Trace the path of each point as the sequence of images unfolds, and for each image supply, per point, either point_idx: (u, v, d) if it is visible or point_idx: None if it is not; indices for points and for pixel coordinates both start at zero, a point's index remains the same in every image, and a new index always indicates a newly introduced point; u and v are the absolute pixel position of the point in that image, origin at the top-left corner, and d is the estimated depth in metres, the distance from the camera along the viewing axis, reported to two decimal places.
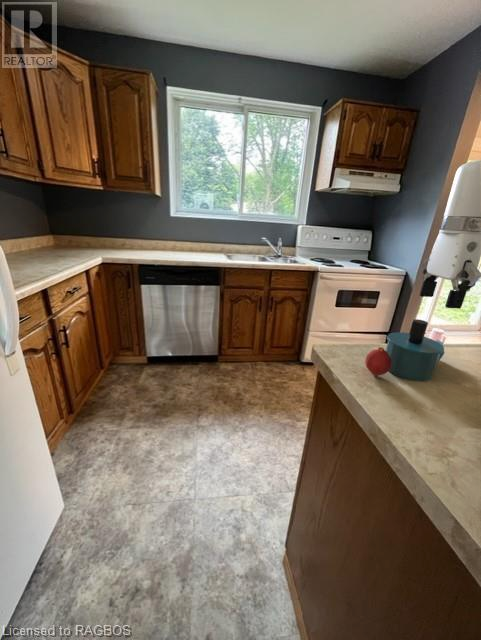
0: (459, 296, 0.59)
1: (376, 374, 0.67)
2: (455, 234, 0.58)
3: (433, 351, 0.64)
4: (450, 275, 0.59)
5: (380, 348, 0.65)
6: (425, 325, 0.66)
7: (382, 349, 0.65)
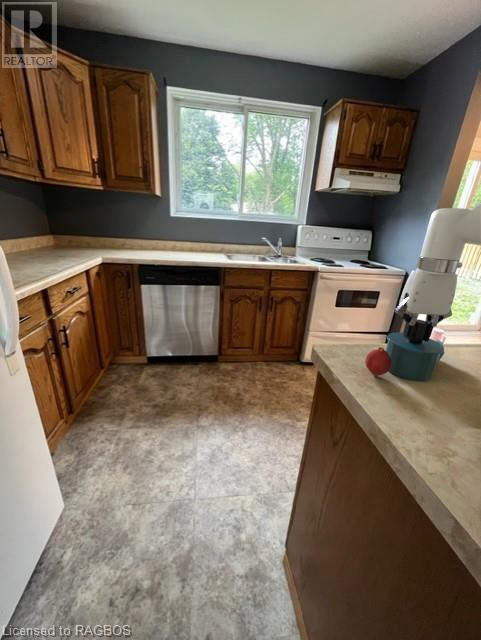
0: None
1: (376, 374, 0.67)
2: (451, 275, 0.61)
3: (433, 351, 0.64)
4: (446, 311, 0.64)
5: (380, 348, 0.65)
6: (425, 325, 0.66)
7: (382, 349, 0.65)
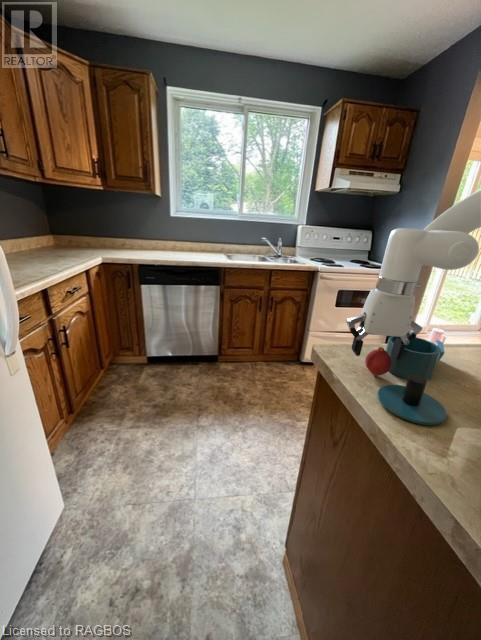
0: None
1: (376, 374, 0.67)
2: (408, 297, 0.59)
3: (433, 419, 0.51)
4: (404, 333, 0.62)
5: (380, 348, 0.65)
6: (423, 385, 0.53)
7: (382, 349, 0.65)
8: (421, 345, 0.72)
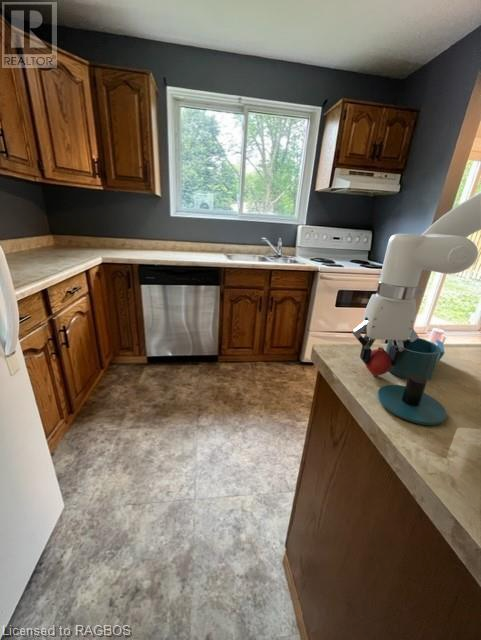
0: None
1: (376, 374, 0.67)
2: (409, 302, 0.59)
3: (433, 419, 0.51)
4: (406, 337, 0.62)
5: (380, 348, 0.65)
6: (423, 385, 0.53)
7: (382, 349, 0.65)
8: (421, 345, 0.72)
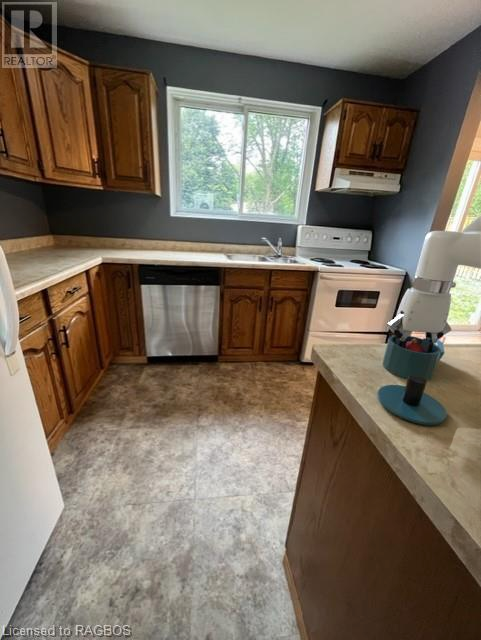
0: None
1: None
2: (445, 295, 0.62)
3: (433, 419, 0.51)
4: (440, 329, 0.65)
5: (414, 340, 0.69)
6: (423, 385, 0.53)
7: (416, 341, 0.68)
8: None
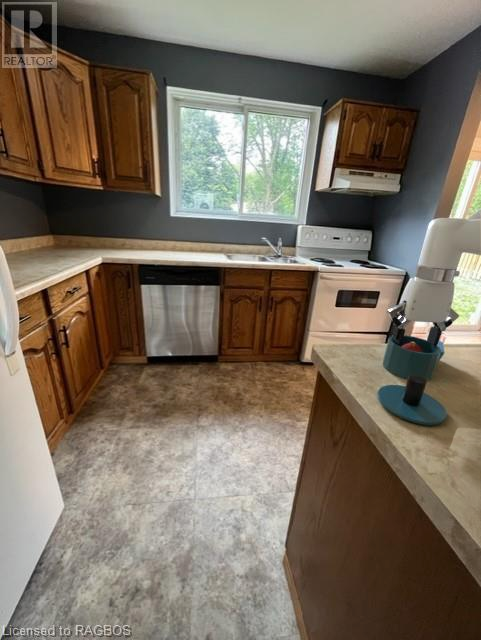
0: None
1: None
2: (448, 284, 0.61)
3: (433, 419, 0.51)
4: (444, 319, 0.65)
5: (412, 343, 0.67)
6: (423, 385, 0.53)
7: (414, 344, 0.67)
8: (421, 345, 0.72)
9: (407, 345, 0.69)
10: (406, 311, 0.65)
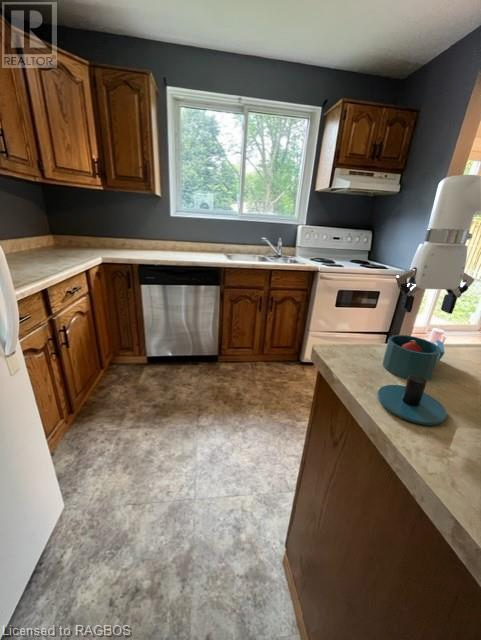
0: None
1: None
2: (460, 247, 0.58)
3: (433, 419, 0.51)
4: (456, 285, 0.62)
5: (412, 341, 0.69)
6: (423, 385, 0.53)
7: (414, 342, 0.69)
8: (421, 345, 0.72)
9: (407, 343, 0.70)
10: (417, 278, 0.62)
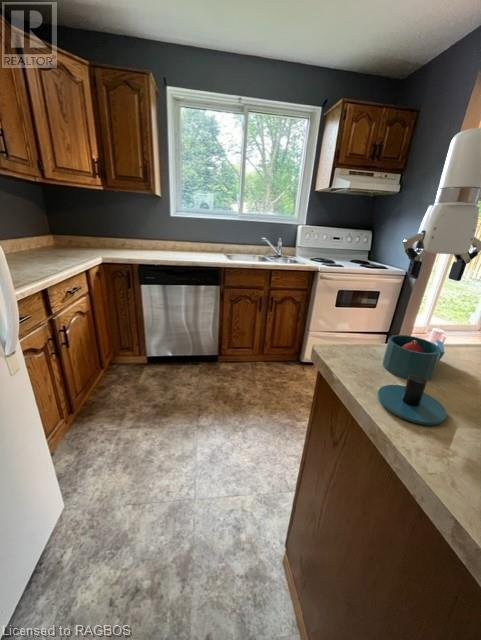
0: None
1: None
2: (472, 207, 0.56)
3: (433, 419, 0.51)
4: (466, 249, 0.59)
5: (414, 342, 0.69)
6: (423, 385, 0.53)
7: (415, 342, 0.68)
8: (421, 345, 0.72)
9: (408, 343, 0.70)
10: (425, 241, 0.59)
